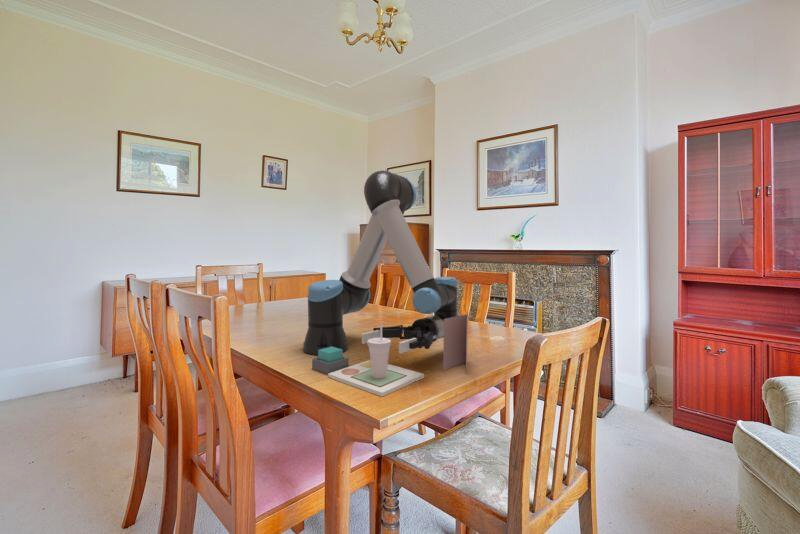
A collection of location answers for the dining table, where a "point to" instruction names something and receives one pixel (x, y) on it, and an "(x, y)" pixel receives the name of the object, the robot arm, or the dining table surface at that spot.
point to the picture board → (364, 380)
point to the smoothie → (379, 355)
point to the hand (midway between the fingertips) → (380, 343)
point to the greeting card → (455, 341)
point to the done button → (330, 354)
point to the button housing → (329, 365)
